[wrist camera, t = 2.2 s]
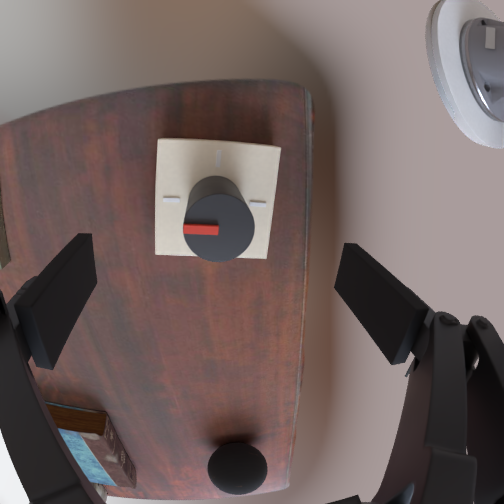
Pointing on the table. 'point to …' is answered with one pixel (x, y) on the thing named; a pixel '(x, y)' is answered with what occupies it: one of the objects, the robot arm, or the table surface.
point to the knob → (217, 220)
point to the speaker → (237, 468)
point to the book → (94, 445)
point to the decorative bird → (100, 490)
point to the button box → (3, 241)
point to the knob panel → (204, 165)
